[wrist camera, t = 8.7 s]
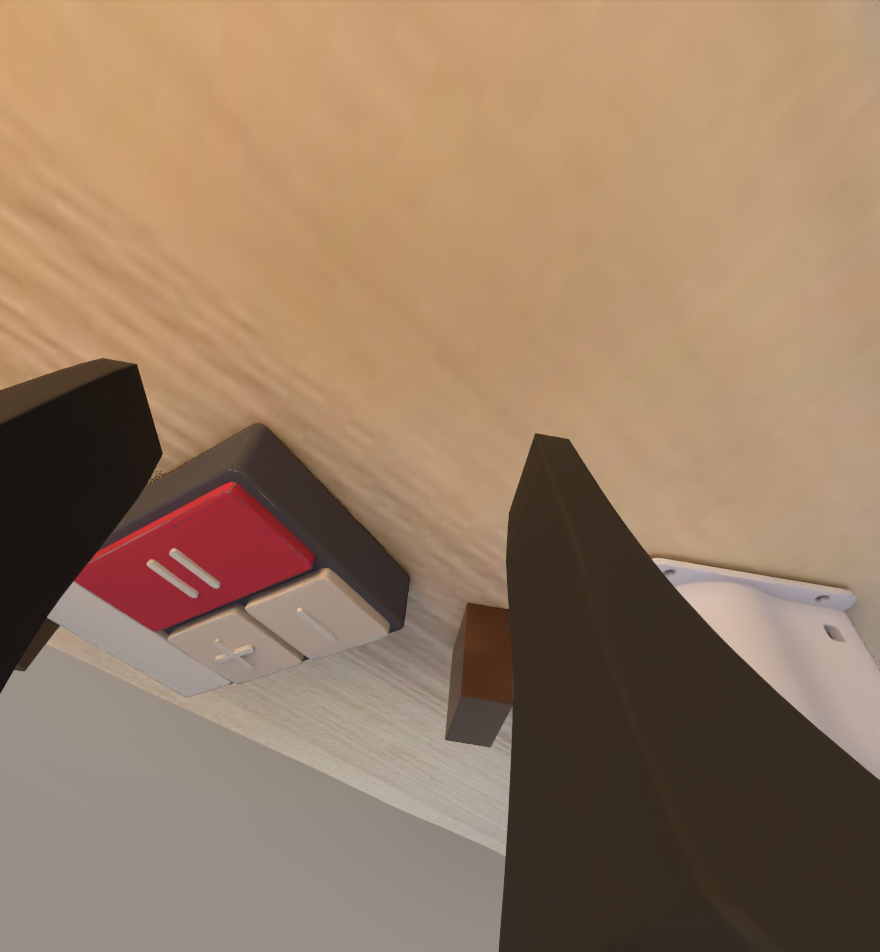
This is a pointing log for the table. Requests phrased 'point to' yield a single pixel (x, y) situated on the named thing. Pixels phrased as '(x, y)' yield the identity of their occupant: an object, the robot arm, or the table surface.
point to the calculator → (234, 573)
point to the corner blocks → (471, 683)
